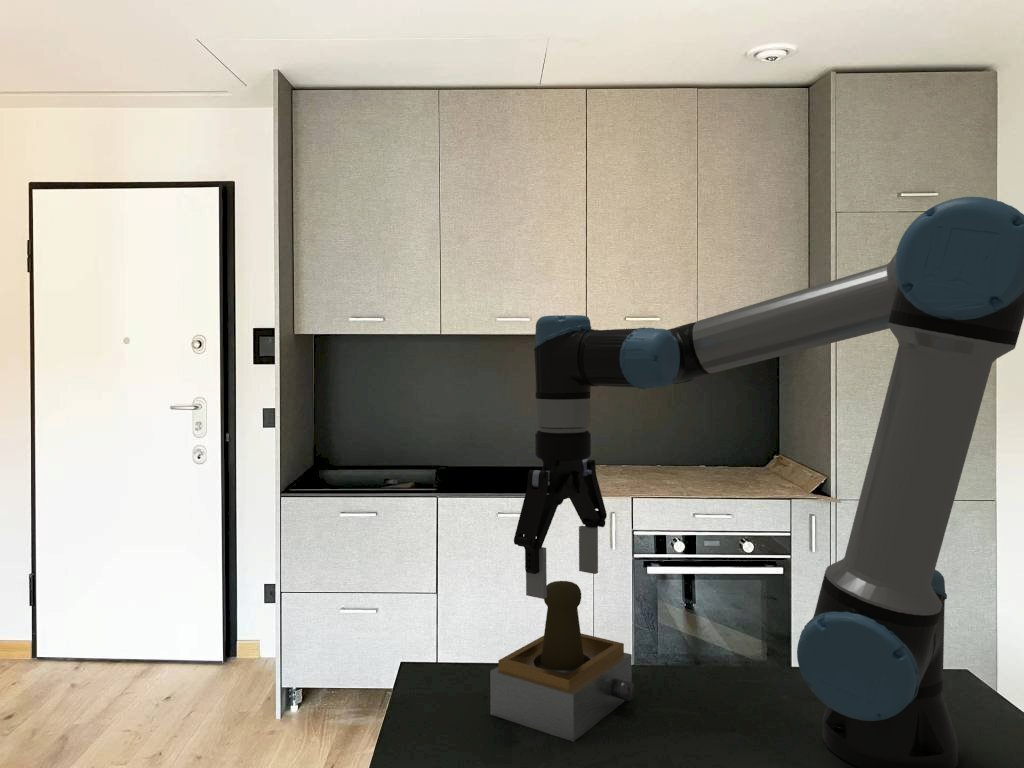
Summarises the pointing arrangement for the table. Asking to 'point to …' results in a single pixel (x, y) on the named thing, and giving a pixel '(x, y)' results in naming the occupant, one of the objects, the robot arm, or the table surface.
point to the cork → (562, 627)
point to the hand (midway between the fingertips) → (563, 583)
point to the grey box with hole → (562, 688)
